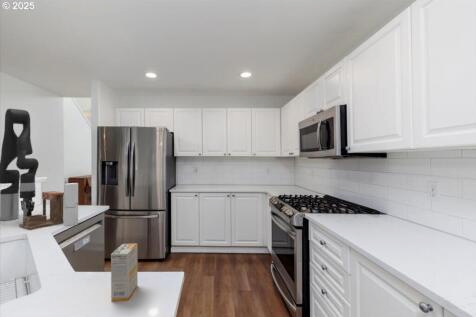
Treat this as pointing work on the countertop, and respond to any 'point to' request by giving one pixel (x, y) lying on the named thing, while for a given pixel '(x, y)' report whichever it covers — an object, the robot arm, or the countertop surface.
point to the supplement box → (123, 272)
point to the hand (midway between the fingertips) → (27, 217)
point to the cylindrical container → (70, 204)
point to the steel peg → (24, 211)
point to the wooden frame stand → (42, 220)
